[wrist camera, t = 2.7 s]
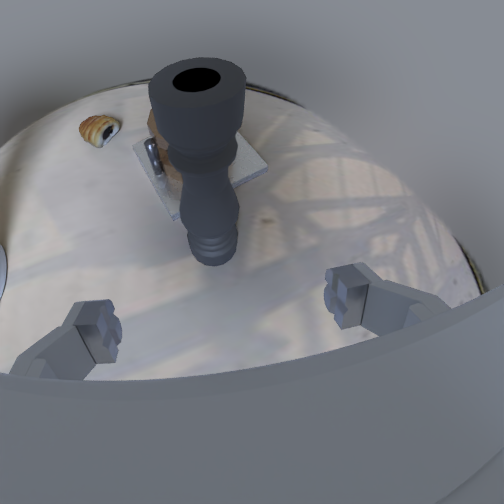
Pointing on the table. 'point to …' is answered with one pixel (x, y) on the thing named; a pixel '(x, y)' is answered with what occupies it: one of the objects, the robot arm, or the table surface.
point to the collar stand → (171, 181)
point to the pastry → (98, 130)
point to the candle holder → (202, 147)
